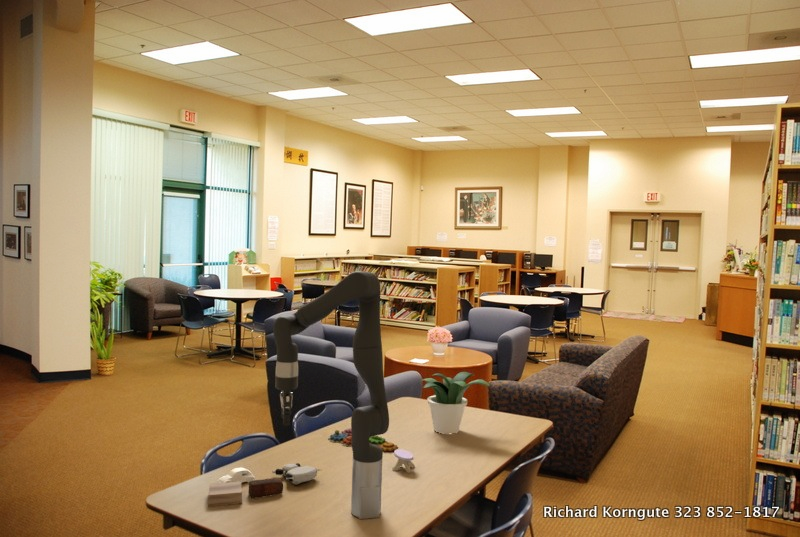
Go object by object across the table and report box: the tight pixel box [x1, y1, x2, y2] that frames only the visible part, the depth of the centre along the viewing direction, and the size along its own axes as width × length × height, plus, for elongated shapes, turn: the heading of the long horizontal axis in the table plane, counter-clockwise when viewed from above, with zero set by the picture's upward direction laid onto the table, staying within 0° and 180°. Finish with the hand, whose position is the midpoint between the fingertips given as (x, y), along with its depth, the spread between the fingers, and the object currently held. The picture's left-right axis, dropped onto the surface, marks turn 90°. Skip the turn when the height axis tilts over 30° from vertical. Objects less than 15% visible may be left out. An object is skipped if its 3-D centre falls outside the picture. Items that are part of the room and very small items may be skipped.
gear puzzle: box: [327, 427, 399, 452], centre depth 252 cm, size 31×16×4 cm, turn 54°
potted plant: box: [421, 371, 491, 435], centre depth 273 cm, size 32×35×26 cm
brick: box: [248, 477, 284, 499], centre depth 199 cm, size 11×4×5 cm, turn 117°
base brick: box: [207, 481, 243, 507], centre depth 194 cm, size 9×10×4 cm
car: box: [216, 467, 256, 484], centre depth 208 cm, size 12×6×5 cm, turn 129°
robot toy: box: [271, 462, 322, 485], centre depth 213 cm, size 12×4×15 cm
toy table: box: [392, 448, 416, 473], centre depth 226 cm, size 10×9×6 cm
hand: (285, 421), depth 205 cm, fingers open, 8 cm apart
